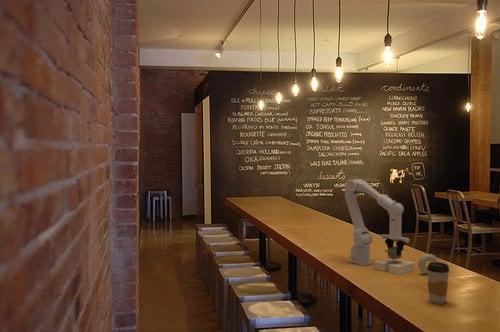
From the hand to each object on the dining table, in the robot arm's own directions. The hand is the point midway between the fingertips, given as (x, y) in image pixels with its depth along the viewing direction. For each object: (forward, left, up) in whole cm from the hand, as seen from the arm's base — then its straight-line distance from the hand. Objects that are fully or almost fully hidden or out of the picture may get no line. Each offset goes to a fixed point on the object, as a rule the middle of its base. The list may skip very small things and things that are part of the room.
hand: (394, 254), depth 257 cm
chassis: (0, 0, -7) cm, 7 cm away
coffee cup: (+40, -31, -8) cm, 51 cm away
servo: (0, 0, -2) cm, 2 cm away
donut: (+16, +4, -8) cm, 18 cm away
